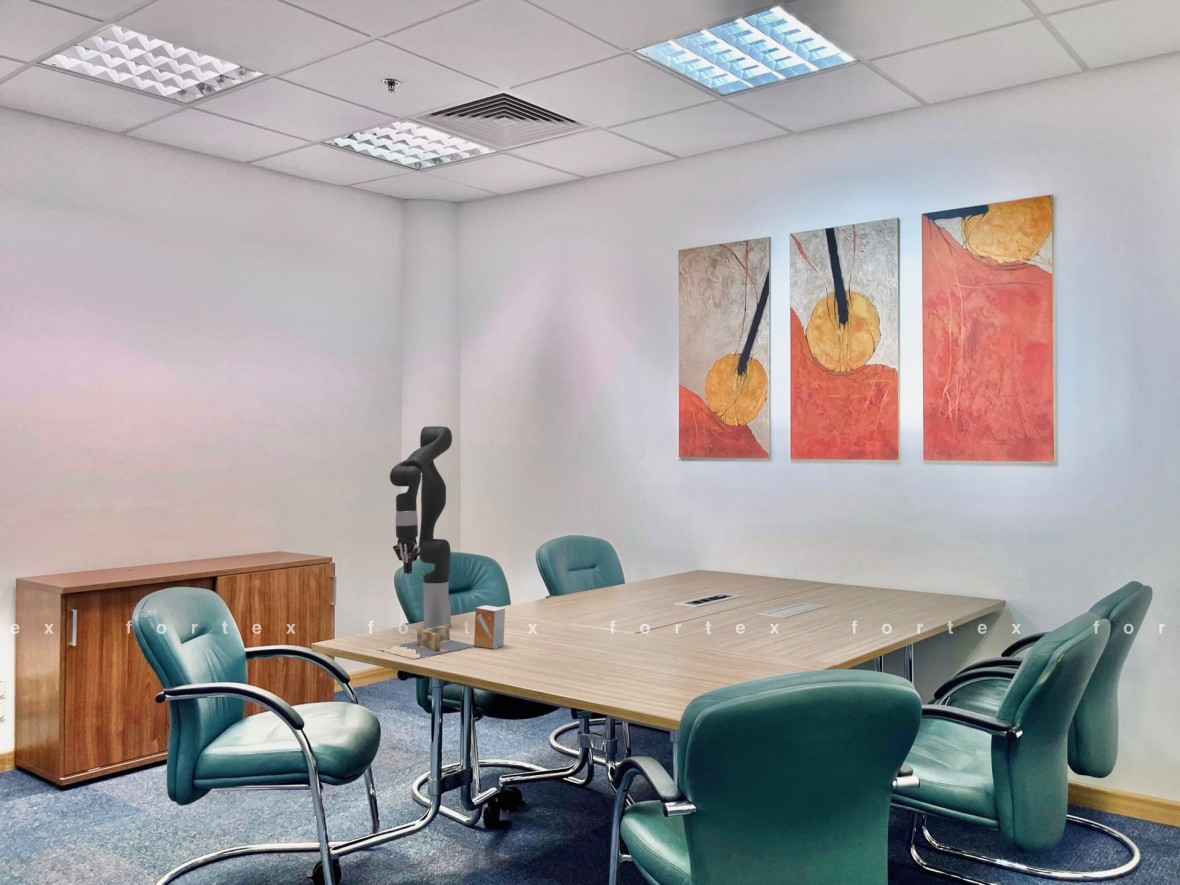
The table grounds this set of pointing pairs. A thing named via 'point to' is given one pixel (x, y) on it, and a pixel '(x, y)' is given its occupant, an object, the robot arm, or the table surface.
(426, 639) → the fence gate
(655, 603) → the table surface
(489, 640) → the small box
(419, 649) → the card
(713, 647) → the table surface
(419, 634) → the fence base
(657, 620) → the table surface
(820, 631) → the table surface
